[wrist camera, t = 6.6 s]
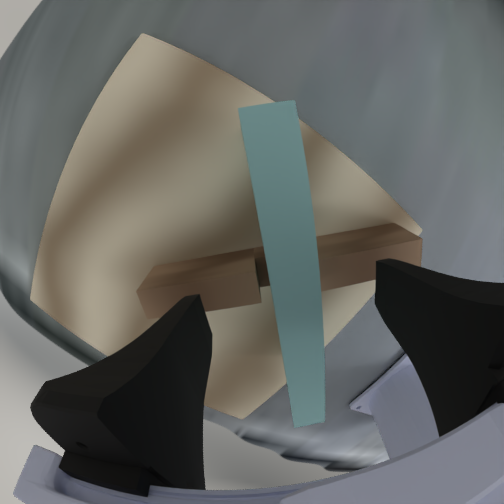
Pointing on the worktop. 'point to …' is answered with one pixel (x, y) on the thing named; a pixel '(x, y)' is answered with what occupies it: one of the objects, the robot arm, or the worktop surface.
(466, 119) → the worktop surface
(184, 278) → the brown notched bar
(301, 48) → the worktop surface
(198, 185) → the ash board
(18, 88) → the worktop surface
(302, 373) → the teal bar
